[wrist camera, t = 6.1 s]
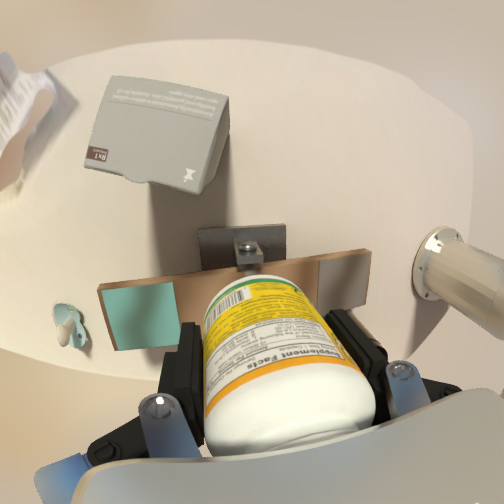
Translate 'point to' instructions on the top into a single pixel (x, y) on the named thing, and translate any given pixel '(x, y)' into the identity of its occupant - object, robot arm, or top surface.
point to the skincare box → (159, 133)
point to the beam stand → (241, 245)
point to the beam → (211, 283)
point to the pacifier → (68, 325)
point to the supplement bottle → (276, 372)
